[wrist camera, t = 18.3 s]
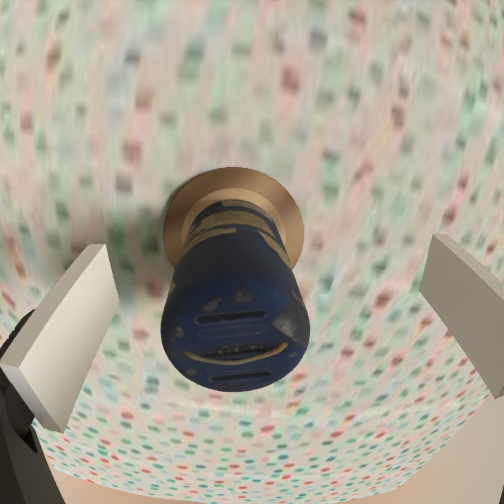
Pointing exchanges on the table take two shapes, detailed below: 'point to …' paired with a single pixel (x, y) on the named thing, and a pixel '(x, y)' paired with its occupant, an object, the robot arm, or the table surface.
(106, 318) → the robot arm
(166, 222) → the brown plate
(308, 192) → the table surface
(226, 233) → the canister
